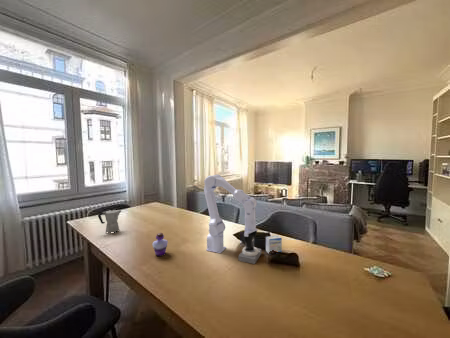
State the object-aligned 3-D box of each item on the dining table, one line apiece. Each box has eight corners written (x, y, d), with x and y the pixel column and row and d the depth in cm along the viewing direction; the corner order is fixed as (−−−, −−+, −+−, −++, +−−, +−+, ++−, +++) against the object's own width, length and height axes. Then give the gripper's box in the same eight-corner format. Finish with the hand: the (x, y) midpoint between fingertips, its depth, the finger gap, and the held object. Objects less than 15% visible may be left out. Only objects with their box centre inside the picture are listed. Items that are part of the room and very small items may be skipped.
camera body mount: (238, 260, 110) (238, 253, 110) (246, 250, 122) (246, 243, 122) (255, 264, 107) (255, 256, 106) (261, 253, 118) (261, 246, 118)
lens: (245, 250, 112) (245, 237, 112) (246, 247, 117) (246, 234, 116) (253, 251, 112) (253, 238, 111) (254, 247, 116) (254, 235, 115)
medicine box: (269, 254, 117) (269, 239, 116) (265, 251, 121) (265, 236, 121) (281, 252, 119) (282, 237, 118) (277, 249, 123) (277, 234, 123)
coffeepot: (120, 227, 163) (119, 205, 161) (123, 231, 155) (122, 207, 154) (97, 232, 153) (96, 208, 152) (100, 236, 146) (98, 210, 144)
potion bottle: (171, 251, 121) (170, 231, 121) (163, 258, 113) (162, 237, 112) (158, 250, 124) (157, 230, 123) (149, 256, 115) (148, 235, 115)
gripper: (253, 225, 105) (253, 251, 106) (260, 217, 118) (260, 241, 119) (240, 223, 108) (240, 249, 109) (248, 216, 121) (249, 239, 122)
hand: (250, 245), depth 114 cm, fingers closed on lens, 4 cm apart
